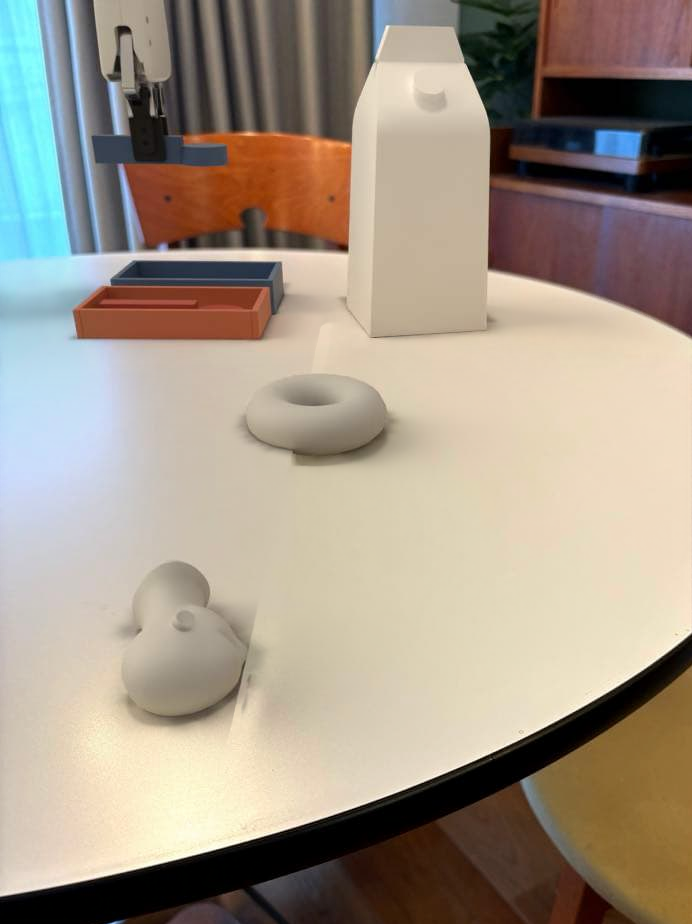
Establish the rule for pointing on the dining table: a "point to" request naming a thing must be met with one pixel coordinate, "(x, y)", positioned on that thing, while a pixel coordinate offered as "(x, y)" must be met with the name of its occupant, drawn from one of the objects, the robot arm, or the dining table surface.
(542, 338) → the dining table surface
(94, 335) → the tray red
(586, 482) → the dining table surface
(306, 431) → the donut
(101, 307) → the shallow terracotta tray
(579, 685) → the dining table surface
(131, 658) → the pale two-lobed sculpture
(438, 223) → the milk
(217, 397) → the dining table surface
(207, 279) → the tray blue
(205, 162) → the blue spoon
